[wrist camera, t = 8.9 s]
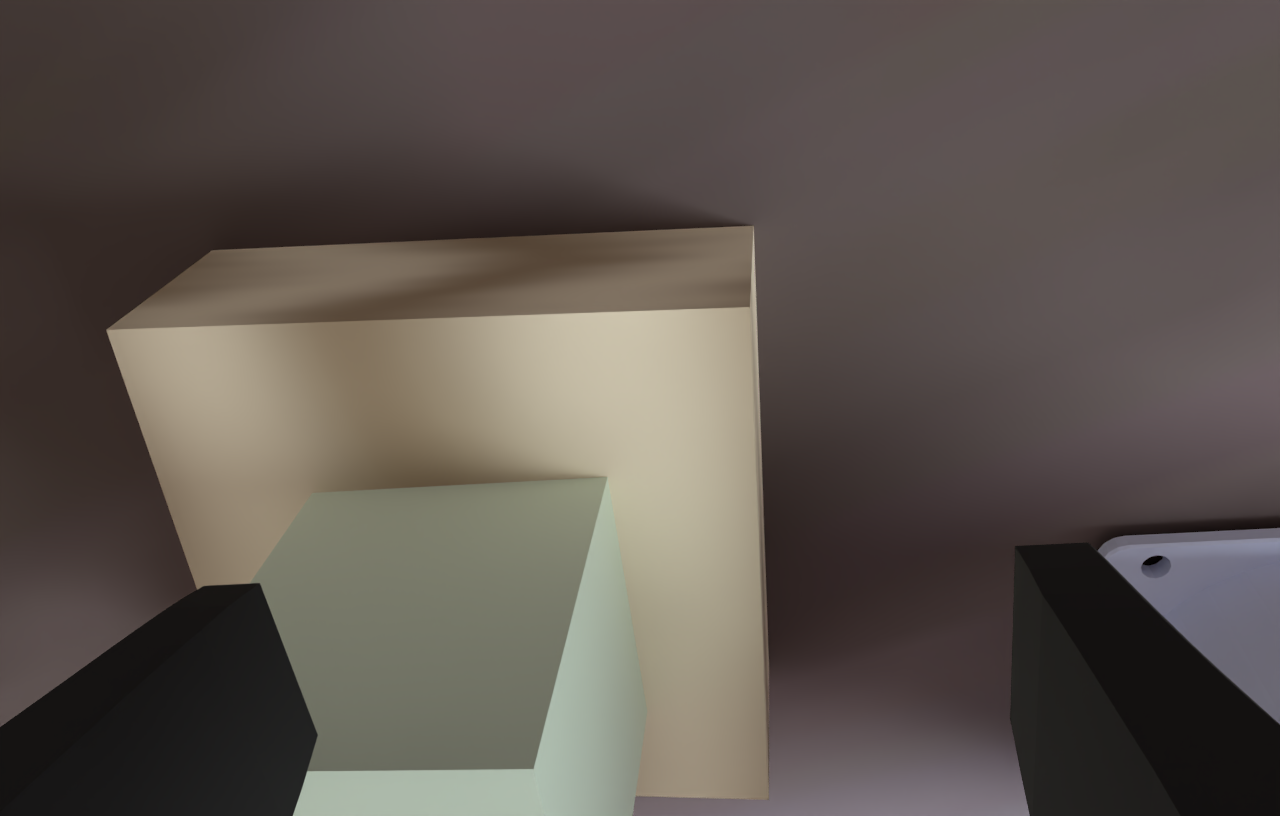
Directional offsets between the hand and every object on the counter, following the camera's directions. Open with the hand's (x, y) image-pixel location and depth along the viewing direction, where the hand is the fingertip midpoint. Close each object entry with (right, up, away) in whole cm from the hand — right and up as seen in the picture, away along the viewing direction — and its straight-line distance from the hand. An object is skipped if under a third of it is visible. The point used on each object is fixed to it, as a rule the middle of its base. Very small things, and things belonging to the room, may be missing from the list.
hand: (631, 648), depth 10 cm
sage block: (-3, -1, +8) cm, 9 cm away
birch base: (-2, +1, +12) cm, 12 cm away
